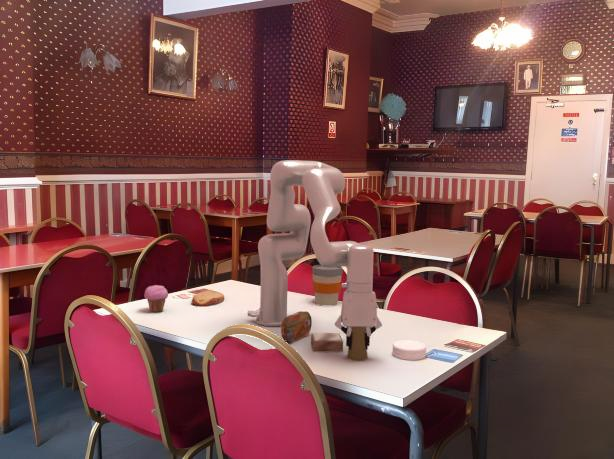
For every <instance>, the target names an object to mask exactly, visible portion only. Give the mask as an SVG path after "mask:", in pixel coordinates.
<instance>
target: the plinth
mask: <svg viewBox="0 0 614 459" xmlns="http://www.w3.org/2000/svg"><path fill="white" fill-rule="evenodd" d="M310 334H311V336H310V337H311V338H310V343H311V349H312V350H313V352H344V340H343V338H342V335H341V333H339V332H312V333H311V332H310Z"/></svg>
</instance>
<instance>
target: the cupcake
mask: <svg viewBox="0 0 614 459" xmlns="http://www.w3.org/2000/svg"><path fill="white" fill-rule="evenodd" d="M168 297H169V293H168V290H167V289H166V288H165V286H164V285H157V284H155V285H149V286H148V287H146V288H145V290H144V298H145V299H146V301H147V302H148V309H149V311H150V312H152V313H157V312H158V313H161V312H163V311H164V307H165V303H166V299H168Z"/></svg>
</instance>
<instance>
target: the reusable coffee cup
mask: <svg viewBox="0 0 614 459" xmlns="http://www.w3.org/2000/svg"><path fill="white" fill-rule="evenodd" d="M311 274H312V280H311V281H312V291H313V292H314V298H315V300H314V301H315V304H316V303H317V304H316V305H318V304H319V305H318V306H323V305H332V306H337V305H338V301H339V295H340V292H341V289H342V283H343V281H342V276H343V266H341V267H333V268H326V267H323V266H322V265H321V264H316V265H313V266H312V269H311Z"/></svg>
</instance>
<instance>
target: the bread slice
mask: <svg viewBox="0 0 614 459" xmlns="http://www.w3.org/2000/svg"><path fill="white" fill-rule="evenodd" d="M224 300H225V295H224V293H223V292H222V293H221V292H220V291H214V290H210V289H209V290H208V289H207V290H203V291H200V292H198V293H196V294H195V295H193V297H192V299H191V303H192V304H193V305H194V306H196V307H198V308H199V307H210V306H216V305H219V304H221V303H223V302H224Z"/></svg>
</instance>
